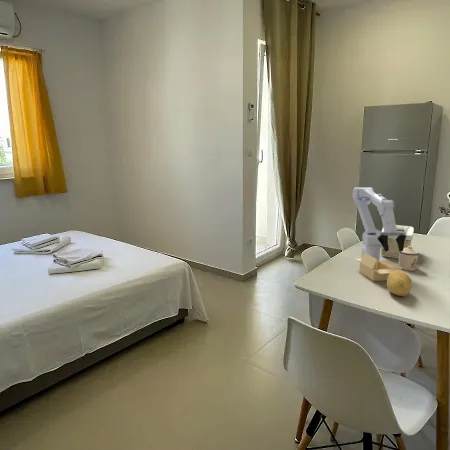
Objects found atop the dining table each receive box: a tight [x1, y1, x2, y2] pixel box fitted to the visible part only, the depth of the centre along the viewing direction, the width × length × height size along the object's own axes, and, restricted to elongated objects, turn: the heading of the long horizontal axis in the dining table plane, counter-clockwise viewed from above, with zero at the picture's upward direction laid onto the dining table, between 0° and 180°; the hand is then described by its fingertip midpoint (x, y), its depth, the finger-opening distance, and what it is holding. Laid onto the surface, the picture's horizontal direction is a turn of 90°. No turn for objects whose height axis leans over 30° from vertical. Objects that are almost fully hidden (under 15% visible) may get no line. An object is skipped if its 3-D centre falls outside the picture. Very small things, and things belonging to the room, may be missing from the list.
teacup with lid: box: [397, 246, 420, 271], centre depth 187 cm, size 12×9×12 cm
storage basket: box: [380, 224, 415, 260], centre depth 211 cm, size 24×16×15 cm
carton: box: [354, 257, 403, 282], centre depth 175 cm, size 22×15×8 cm
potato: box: [386, 269, 413, 297], centre depth 153 cm, size 10×14×10 cm
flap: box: [359, 253, 377, 269], centre depth 173 cm, size 10×5×1 cm
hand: (394, 251), depth 172 cm, fingers open, 7 cm apart
